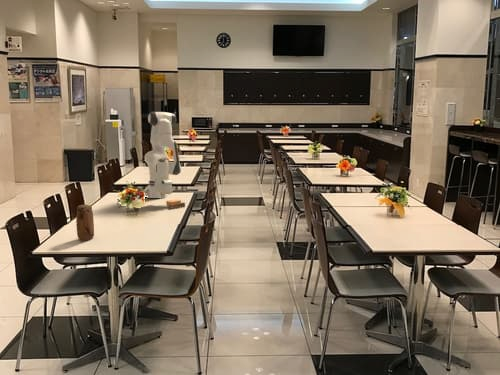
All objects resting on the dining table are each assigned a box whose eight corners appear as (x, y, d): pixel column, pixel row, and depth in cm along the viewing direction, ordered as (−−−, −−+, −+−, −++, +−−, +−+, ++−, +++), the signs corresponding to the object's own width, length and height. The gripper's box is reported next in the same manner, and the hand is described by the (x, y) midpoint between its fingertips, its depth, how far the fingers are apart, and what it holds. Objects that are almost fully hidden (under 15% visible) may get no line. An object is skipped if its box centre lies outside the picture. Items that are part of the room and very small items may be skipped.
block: (83, 236, 308) (81, 203, 304) (95, 236, 307) (93, 203, 304) (75, 241, 297) (73, 207, 294) (88, 242, 297) (86, 207, 293)
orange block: (166, 207, 387) (166, 201, 386) (175, 205, 394) (175, 199, 393) (172, 208, 384) (171, 202, 383) (181, 206, 390) (180, 200, 389)
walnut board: (169, 209, 382) (169, 205, 381) (183, 206, 391) (183, 202, 390) (171, 209, 380) (170, 205, 380) (185, 206, 389) (184, 202, 389)
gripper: (152, 178, 396) (152, 196, 399) (166, 182, 381) (166, 201, 384) (159, 177, 400) (159, 195, 403) (173, 182, 385) (173, 200, 388)
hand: (162, 198), depth 393 cm, fingers closed
